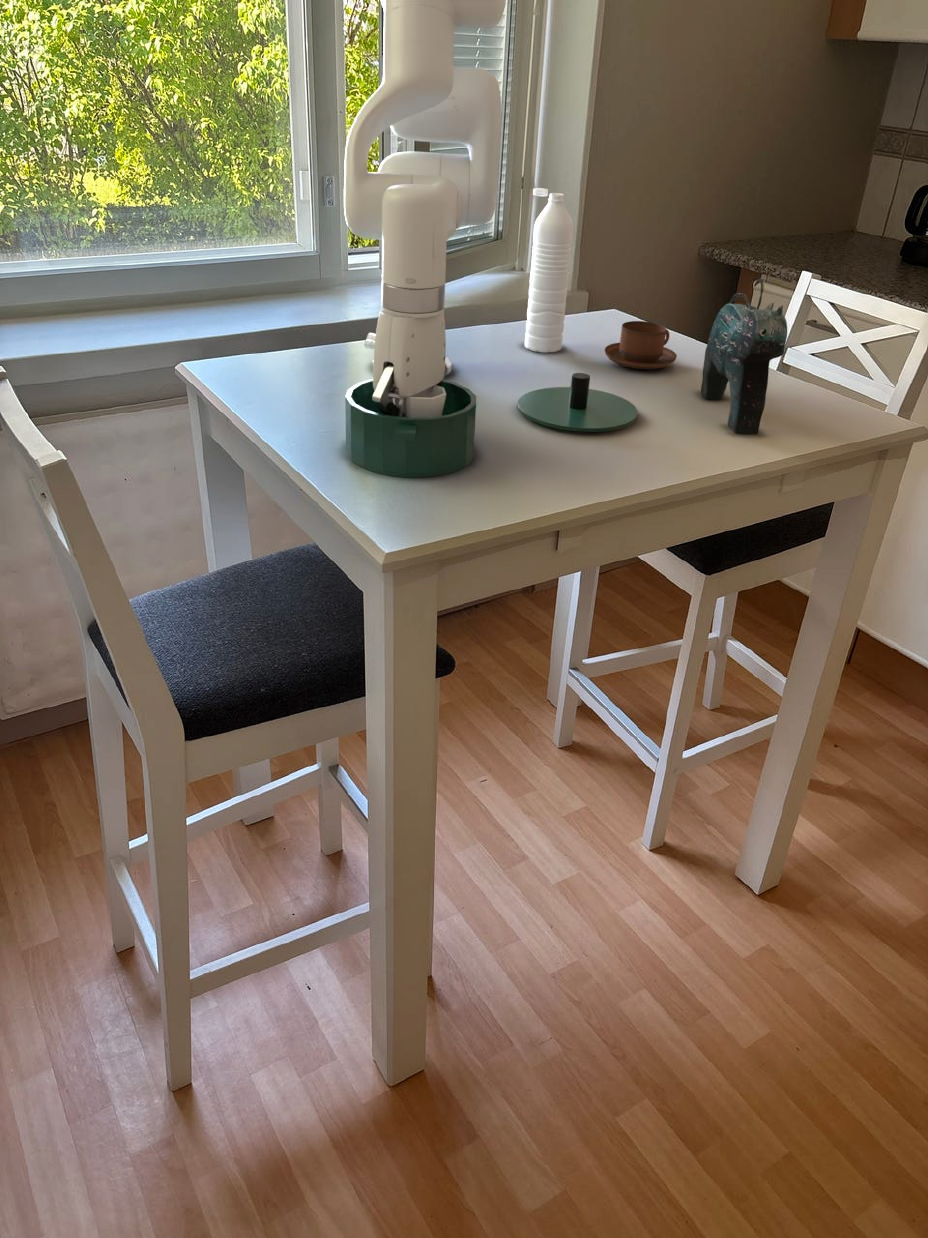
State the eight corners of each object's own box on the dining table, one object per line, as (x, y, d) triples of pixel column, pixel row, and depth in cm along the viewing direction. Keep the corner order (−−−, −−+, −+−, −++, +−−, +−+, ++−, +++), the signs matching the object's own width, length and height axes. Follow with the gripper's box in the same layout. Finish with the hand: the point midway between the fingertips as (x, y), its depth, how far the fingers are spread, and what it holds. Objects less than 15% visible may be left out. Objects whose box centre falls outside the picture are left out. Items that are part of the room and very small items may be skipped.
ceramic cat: (769, 439, 138) (801, 293, 127) (724, 438, 137) (753, 292, 127) (725, 392, 154) (751, 260, 144) (686, 391, 154) (708, 258, 143)
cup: (404, 463, 122) (406, 400, 118) (370, 437, 130) (371, 376, 126) (453, 456, 125) (457, 395, 121) (417, 431, 133) (420, 372, 129)
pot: (336, 482, 118) (335, 423, 114) (356, 419, 137) (356, 366, 133) (472, 489, 118) (475, 430, 114) (474, 425, 137) (477, 372, 133)
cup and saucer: (624, 348, 172) (628, 313, 169) (686, 363, 167) (692, 327, 163) (590, 363, 164) (594, 326, 161) (655, 379, 158) (661, 341, 155)
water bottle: (569, 350, 170) (585, 195, 157) (539, 355, 167) (553, 197, 153) (538, 337, 176) (551, 186, 163) (509, 341, 173) (520, 188, 160)
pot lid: (519, 432, 135) (522, 392, 132) (515, 391, 150) (518, 354, 147) (644, 438, 136) (650, 399, 133) (628, 396, 150) (633, 360, 147)
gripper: (426, 280, 125) (422, 415, 135) (344, 306, 112) (346, 453, 122) (476, 289, 122) (469, 428, 131) (398, 317, 109) (396, 468, 119)
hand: (410, 438), depth 126 cm, fingers closed on cup, 5 cm apart
